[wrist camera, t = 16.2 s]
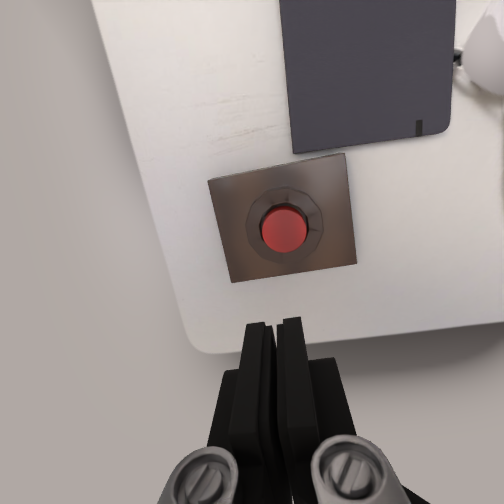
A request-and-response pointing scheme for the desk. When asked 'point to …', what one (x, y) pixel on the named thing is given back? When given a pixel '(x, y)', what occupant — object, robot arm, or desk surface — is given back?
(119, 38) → the desk surface
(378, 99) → the notebook
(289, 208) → the button
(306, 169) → the control block
